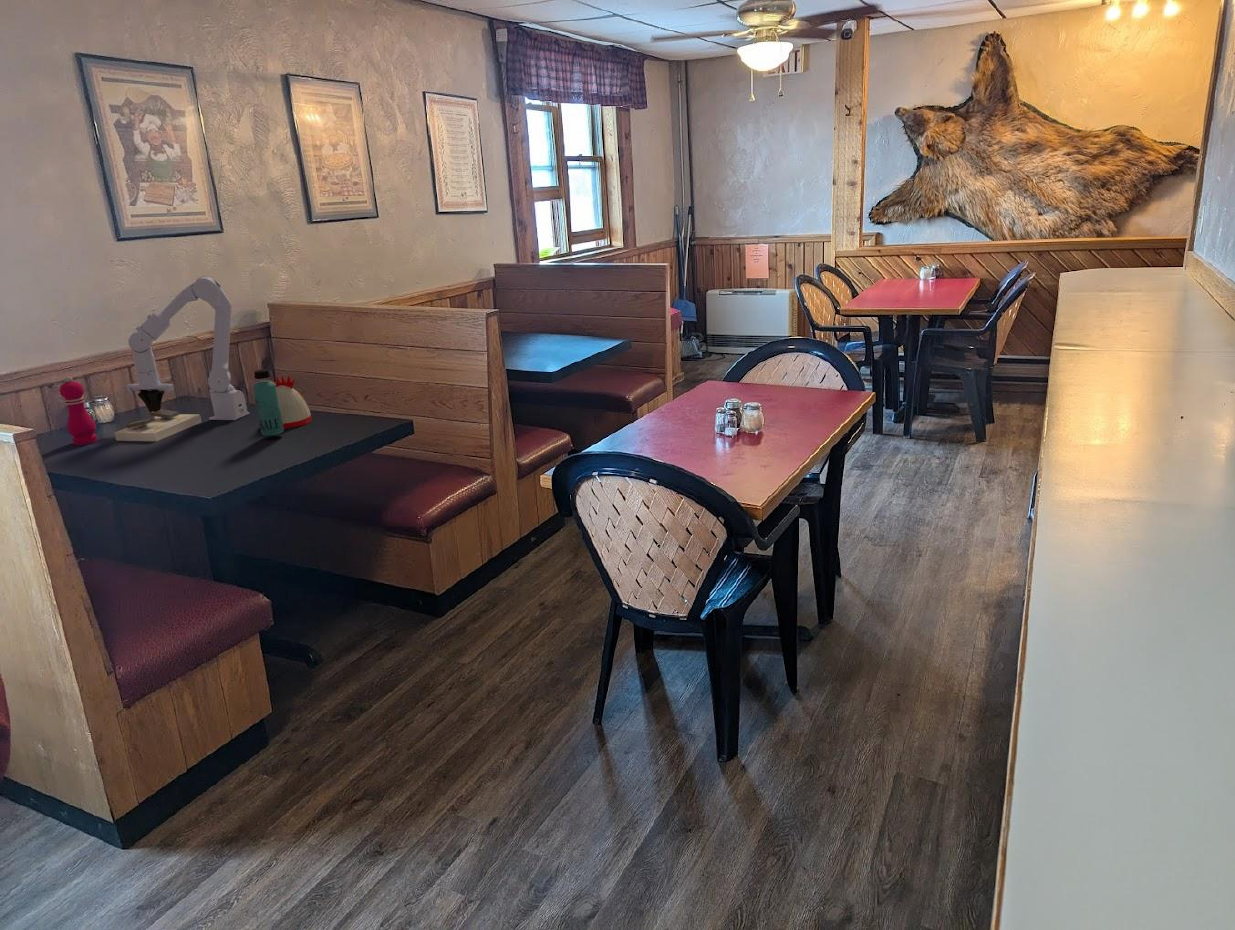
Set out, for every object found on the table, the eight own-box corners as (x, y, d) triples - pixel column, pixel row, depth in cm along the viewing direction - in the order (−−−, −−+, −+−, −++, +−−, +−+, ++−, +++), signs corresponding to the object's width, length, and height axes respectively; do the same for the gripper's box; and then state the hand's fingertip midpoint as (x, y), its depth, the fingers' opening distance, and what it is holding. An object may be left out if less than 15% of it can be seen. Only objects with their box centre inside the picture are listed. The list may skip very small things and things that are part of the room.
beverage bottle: (278, 432, 253) (265, 366, 247) (290, 436, 249) (277, 368, 243) (257, 438, 248) (244, 371, 242) (269, 441, 244) (256, 373, 238)
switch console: (201, 422, 269) (199, 412, 268) (156, 441, 251) (154, 431, 250) (163, 421, 272) (161, 412, 271) (116, 440, 254) (113, 430, 253)
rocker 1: (155, 420, 257) (154, 416, 257) (146, 424, 253) (144, 420, 253) (137, 424, 259) (135, 421, 259) (127, 428, 255) (126, 425, 255)
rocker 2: (179, 414, 267) (178, 411, 266) (170, 418, 263) (169, 415, 262) (159, 412, 268) (158, 408, 267) (150, 415, 264) (149, 412, 264)
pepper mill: (86, 446, 250) (68, 379, 243) (65, 445, 251) (47, 379, 245) (105, 438, 257) (88, 373, 250) (84, 438, 258) (67, 373, 252)
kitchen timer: (311, 425, 259) (302, 377, 254) (262, 431, 255) (253, 382, 251) (311, 414, 272) (303, 368, 267) (265, 420, 268) (256, 373, 263)
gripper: (176, 367, 264) (184, 410, 269) (133, 367, 266) (143, 409, 271) (161, 372, 258) (170, 416, 262) (118, 372, 260) (127, 415, 264)
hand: (155, 413), depth 266 cm, fingers closed, pressing on rocker 2
